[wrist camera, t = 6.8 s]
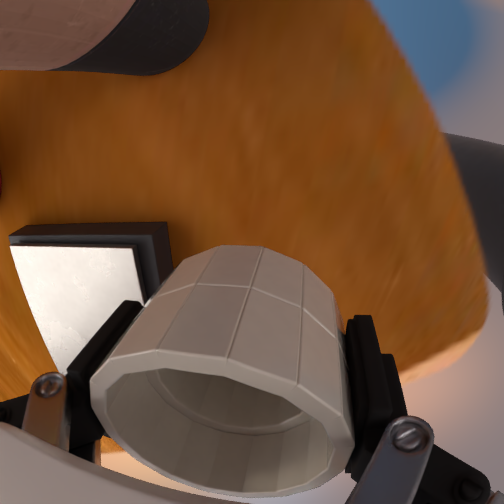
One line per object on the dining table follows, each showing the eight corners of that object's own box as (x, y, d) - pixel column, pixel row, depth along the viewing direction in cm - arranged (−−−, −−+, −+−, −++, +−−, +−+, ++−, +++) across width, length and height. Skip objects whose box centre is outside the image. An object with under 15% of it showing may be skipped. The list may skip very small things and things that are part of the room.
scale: (175, 221, 20) (161, 234, 18) (206, 405, 27) (200, 424, 25) (26, 225, 22) (7, 235, 20) (82, 380, 29) (72, 394, 27)
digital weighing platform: (136, 244, 18) (132, 248, 17) (181, 421, 25) (180, 426, 24) (14, 242, 20) (9, 245, 19) (76, 395, 26) (73, 399, 26)
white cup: (350, 241, 10) (385, 364, 5) (329, 387, 13) (328, 503, 8) (150, 235, 11) (51, 327, 6) (179, 374, 14) (133, 473, 9)
